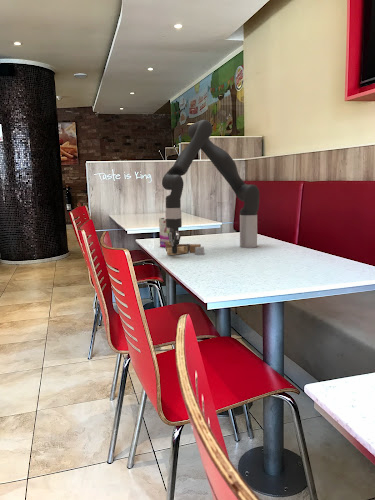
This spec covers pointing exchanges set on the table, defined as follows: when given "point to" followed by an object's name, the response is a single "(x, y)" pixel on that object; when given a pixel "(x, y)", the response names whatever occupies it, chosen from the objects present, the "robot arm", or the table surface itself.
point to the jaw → (178, 250)
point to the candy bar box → (164, 232)
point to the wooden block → (190, 247)
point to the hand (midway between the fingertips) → (174, 253)
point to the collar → (199, 251)
